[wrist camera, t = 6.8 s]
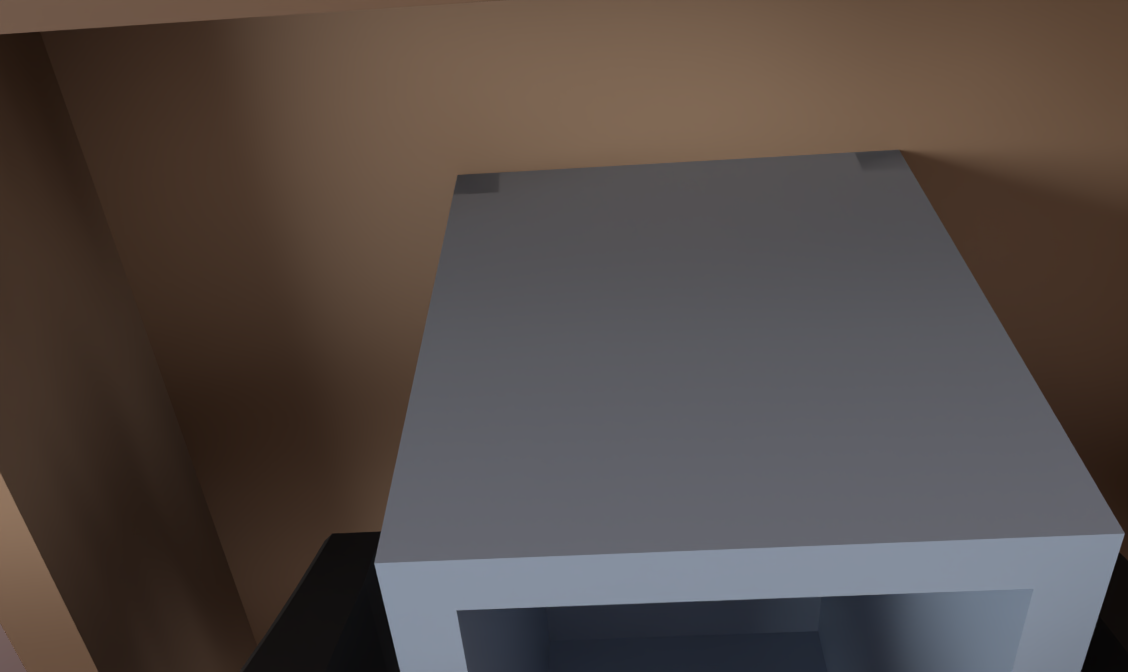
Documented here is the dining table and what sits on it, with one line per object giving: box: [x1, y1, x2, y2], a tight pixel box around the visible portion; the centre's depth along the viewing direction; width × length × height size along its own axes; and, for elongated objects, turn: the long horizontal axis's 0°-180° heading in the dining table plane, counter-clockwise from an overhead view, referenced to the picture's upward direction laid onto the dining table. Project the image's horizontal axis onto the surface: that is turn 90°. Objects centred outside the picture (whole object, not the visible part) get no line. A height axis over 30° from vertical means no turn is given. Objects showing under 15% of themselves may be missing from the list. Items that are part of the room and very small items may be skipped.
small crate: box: [374, 150, 1125, 672], centre depth 12 cm, size 8×5×6 cm, turn 4°
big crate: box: [0, 0, 1128, 672], centre depth 13 cm, size 16×15×4 cm
